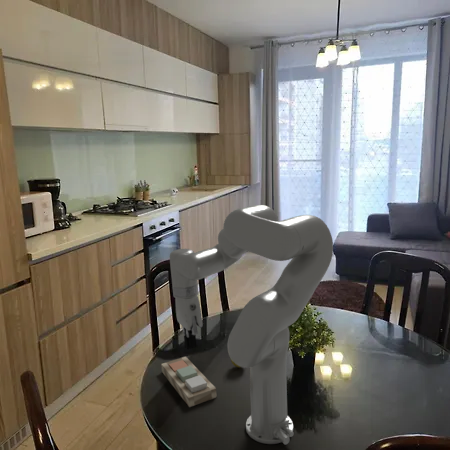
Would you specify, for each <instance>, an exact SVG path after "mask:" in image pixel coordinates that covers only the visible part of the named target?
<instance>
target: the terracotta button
mask: <svg viewBox="0 0 450 450" xmlns="http://www.w3.org/2000/svg"><path fill="white" fill-rule="evenodd" d="M187 366H188V365H187V364H186V363H185V362H184V361H183V360H181V361H178V362H175V363H171V364H169V367H170V368H171V369H172V370H173V372H176V371H177V370H178V369H181V368H184V367H187Z"/></svg>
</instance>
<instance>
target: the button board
mask: <svg viewBox="0 0 450 450" xmlns="http://www.w3.org/2000/svg"><path fill="white" fill-rule="evenodd" d="M181 360H183V361H184V362H185V363H186V364H187V365H188V366H192V367H193V368H194V369H195V370H196V372H197V376H199V375H200V376H201V377H202V378H203V379H204V380H205V381H206V382H207V388H206V389H203V390H200V391H197V392H194V393H191V392H190V391H189V390H188V388H187V387H186V384H185V382H182V381H181V380H180V379H179V378H178V376H177V371H176V372H173V370H172V369H171V368H170V367H169V364H171V363H175V362H178V361H181ZM160 364H161V373H163V375H164V377H166V379H167V380H168V382H169V383H170V384H171V386H172V387H173V388H174V389H175V391H176V392H177V393H178V395H179V396H180V398H182V400H183V401H184V402H185V403H186V404H187V407H188V408H191V407H194V406H196V405H199V404H202V403H205V402H208V401H210V400H214V399H216V398H217V388H216V386H215V385H214V384H213V383H212V382H211V381H210V380H209V379H208V378H207V377H206V376H205V375H204V374H203V373H202V372H201V371H200V370H199V369H198V367H196V366H195V365H194V364H193V362H192V361H191V360H190V359H189V358H188V357H187V356H183V357H180V358H177V359H173V360H169V361H166V362H164V363H160Z"/></svg>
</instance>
